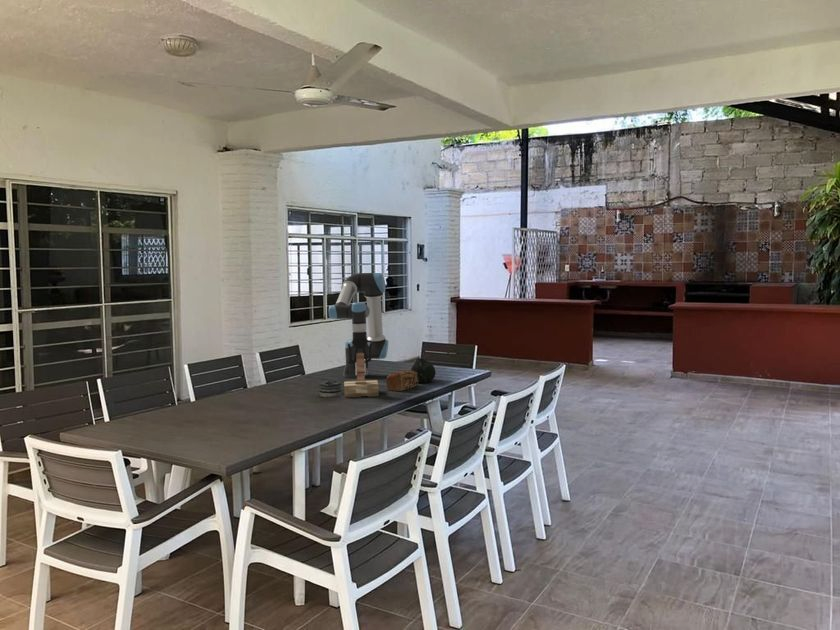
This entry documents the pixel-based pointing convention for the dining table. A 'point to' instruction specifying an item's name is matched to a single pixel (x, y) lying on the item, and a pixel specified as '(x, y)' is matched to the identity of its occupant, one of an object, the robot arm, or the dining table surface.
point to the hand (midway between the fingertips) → (360, 374)
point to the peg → (360, 366)
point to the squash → (424, 370)
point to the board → (361, 388)
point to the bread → (402, 380)
